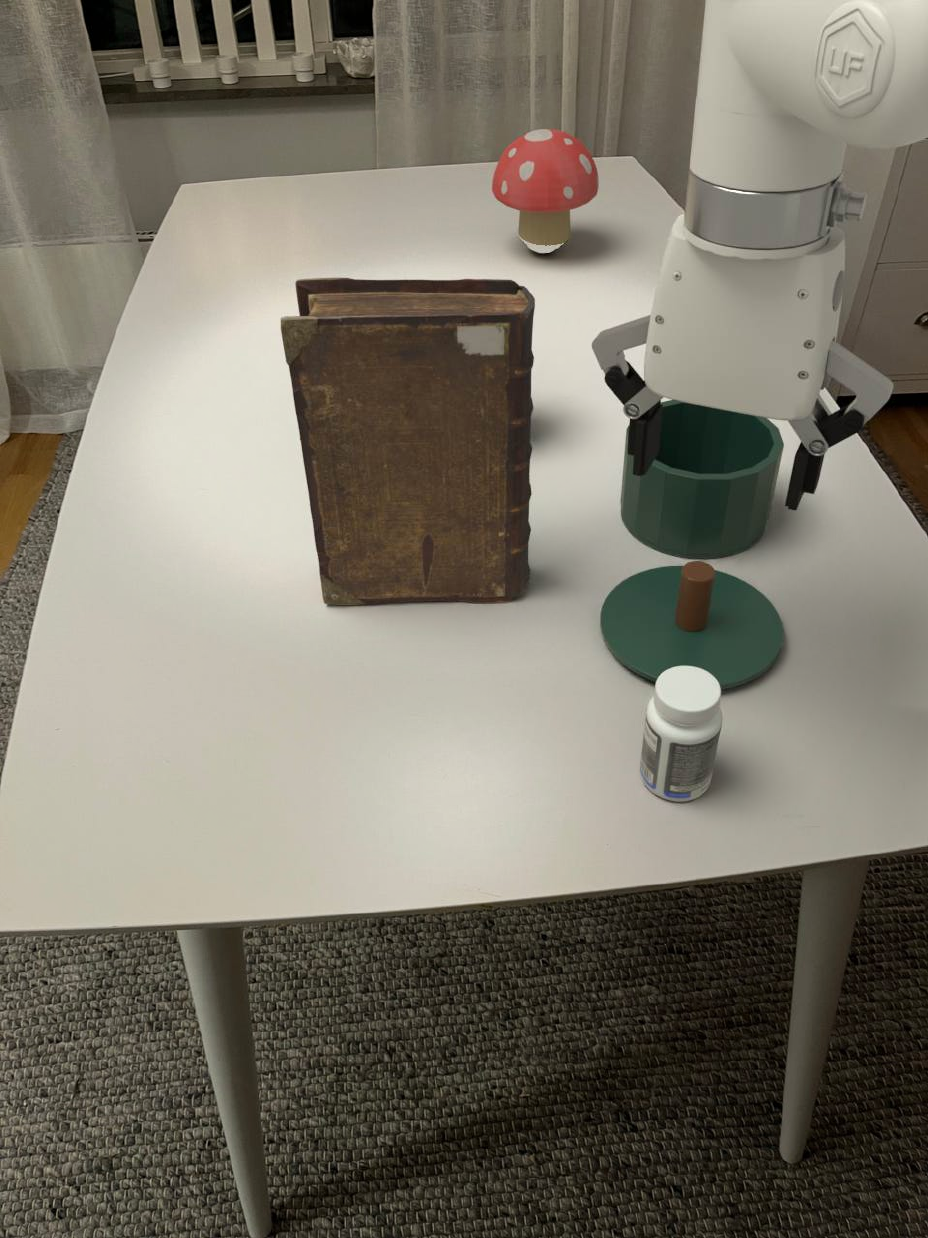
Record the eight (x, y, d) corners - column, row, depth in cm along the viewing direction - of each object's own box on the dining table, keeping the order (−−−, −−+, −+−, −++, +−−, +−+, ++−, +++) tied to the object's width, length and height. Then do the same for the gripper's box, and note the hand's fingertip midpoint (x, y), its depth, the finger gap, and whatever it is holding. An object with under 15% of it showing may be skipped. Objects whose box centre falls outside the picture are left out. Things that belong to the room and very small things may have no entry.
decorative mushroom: (479, 241, 137) (476, 122, 127) (572, 227, 140) (576, 109, 130) (512, 280, 127) (512, 154, 117) (611, 264, 130) (619, 139, 120)
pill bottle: (721, 766, 68) (740, 677, 63) (693, 814, 65) (710, 726, 60) (656, 738, 70) (668, 650, 65) (626, 784, 67) (636, 696, 62)
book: (533, 565, 85) (538, 275, 68) (526, 621, 80) (529, 322, 63) (338, 554, 87) (296, 270, 70) (319, 609, 82) (268, 315, 65)
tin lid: (798, 601, 80) (813, 540, 76) (757, 719, 71) (771, 656, 67) (632, 559, 85) (638, 499, 81) (573, 664, 76) (577, 603, 72)
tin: (780, 492, 92) (797, 414, 86) (746, 574, 83) (762, 493, 78) (646, 462, 96) (653, 386, 90) (600, 537, 87) (606, 458, 82)
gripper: (944, 200, 52) (871, 480, 64) (624, 165, 59) (609, 426, 70) (924, 253, 47) (848, 547, 59) (576, 209, 54) (568, 482, 65)
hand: (718, 481), depth 64 cm, fingers open, 9 cm apart
